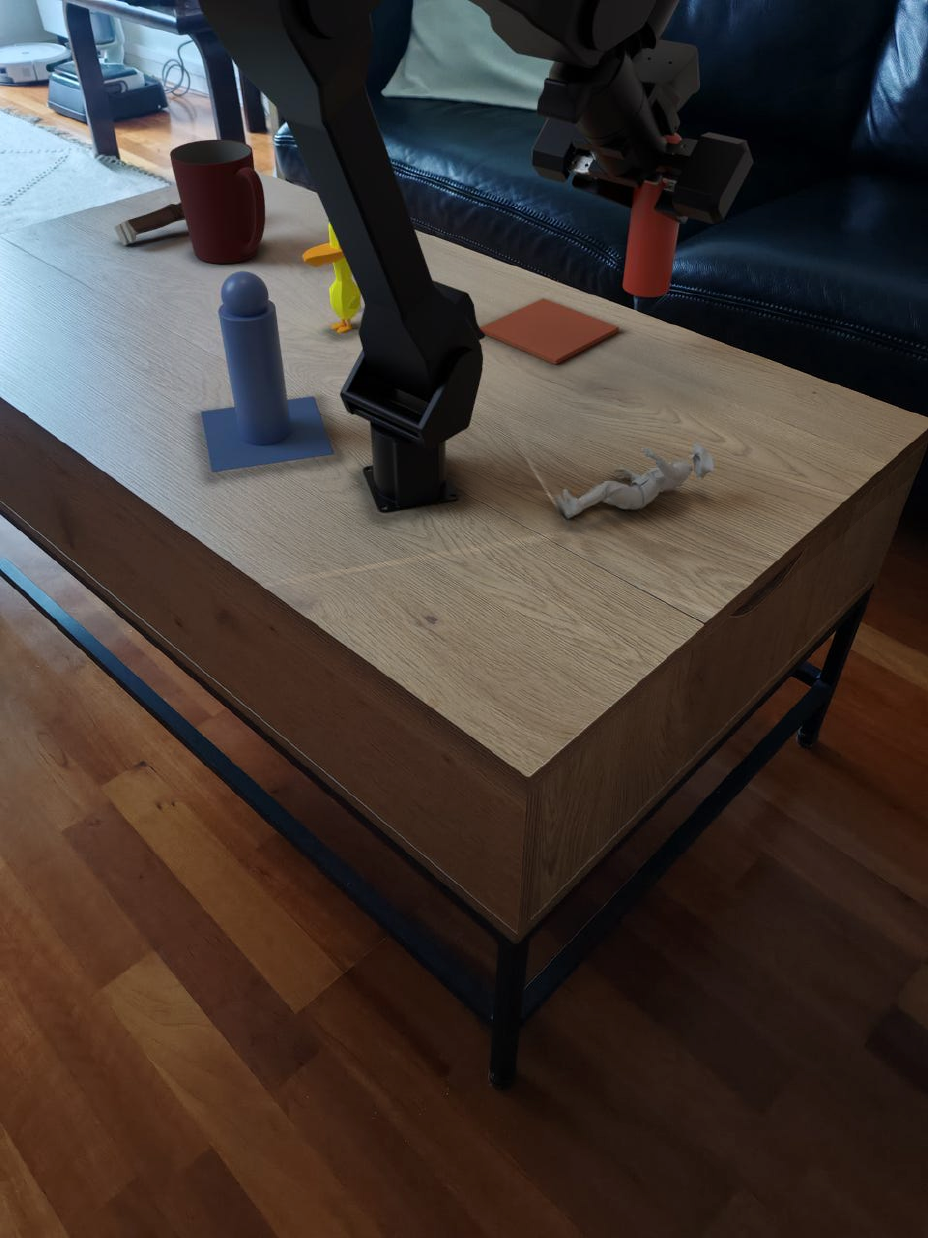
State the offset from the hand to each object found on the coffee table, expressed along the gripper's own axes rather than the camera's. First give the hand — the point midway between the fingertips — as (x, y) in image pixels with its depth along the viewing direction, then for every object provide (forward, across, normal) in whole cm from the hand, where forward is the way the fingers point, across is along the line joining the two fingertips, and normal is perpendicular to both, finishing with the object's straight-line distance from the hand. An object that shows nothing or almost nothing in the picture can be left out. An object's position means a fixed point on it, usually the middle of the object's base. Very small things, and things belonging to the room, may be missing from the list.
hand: (663, 212), depth 89 cm
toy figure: (-4, +24, +22) cm, 33 cm away
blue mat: (-17, +15, +35) cm, 42 cm away
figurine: (0, +57, +18) cm, 60 cm away
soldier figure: (-8, -15, +27) cm, 32 cm away
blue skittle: (-17, +15, +35) cm, 41 cm away
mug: (0, +48, +18) cm, 51 cm away
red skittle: (+4, 0, +6) cm, 7 cm away
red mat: (+6, +9, +12) cm, 16 cm away
